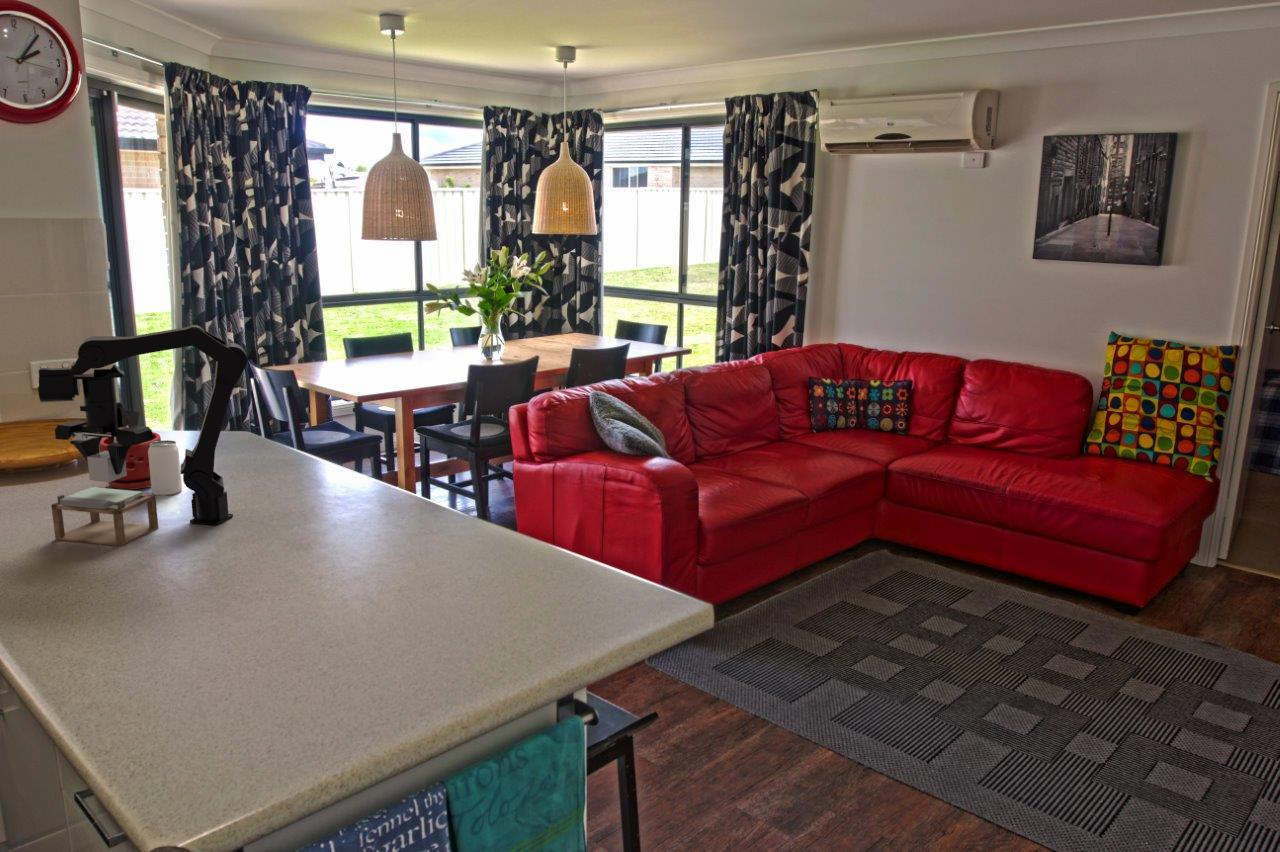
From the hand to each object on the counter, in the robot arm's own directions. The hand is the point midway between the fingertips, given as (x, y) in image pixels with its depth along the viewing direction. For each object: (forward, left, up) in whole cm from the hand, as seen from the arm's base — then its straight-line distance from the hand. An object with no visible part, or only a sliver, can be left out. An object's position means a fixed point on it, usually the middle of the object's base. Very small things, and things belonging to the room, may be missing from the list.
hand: (108, 473), depth 195 cm
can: (+7, -26, -13) cm, 30 cm away
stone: (0, 0, -1) cm, 1 cm away
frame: (0, +2, -12) cm, 13 cm away
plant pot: (+18, -29, -13) cm, 36 cm away
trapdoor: (0, +3, -5) cm, 6 cm away
